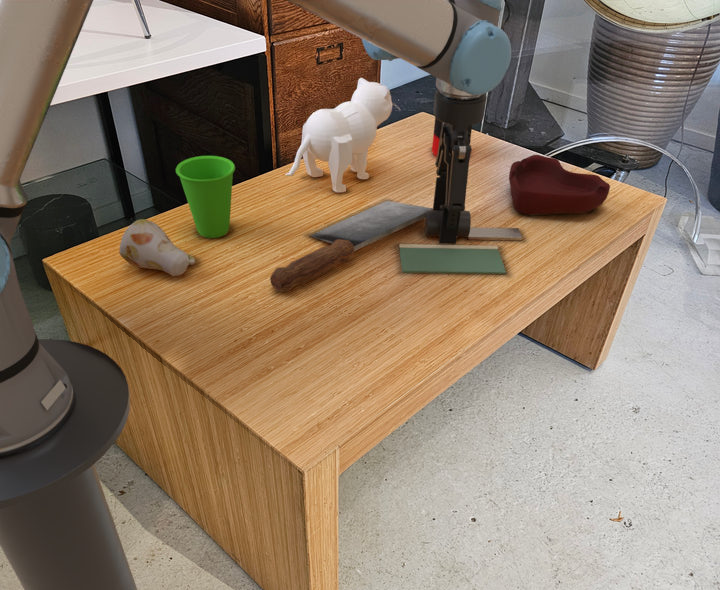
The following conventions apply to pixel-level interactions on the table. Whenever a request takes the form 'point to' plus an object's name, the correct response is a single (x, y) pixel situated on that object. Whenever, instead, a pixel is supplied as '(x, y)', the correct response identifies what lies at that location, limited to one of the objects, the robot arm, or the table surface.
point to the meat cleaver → (347, 241)
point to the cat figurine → (344, 133)
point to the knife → (468, 228)
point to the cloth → (451, 259)
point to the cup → (208, 192)
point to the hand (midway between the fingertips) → (443, 227)
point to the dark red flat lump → (553, 188)
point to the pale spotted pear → (153, 249)
